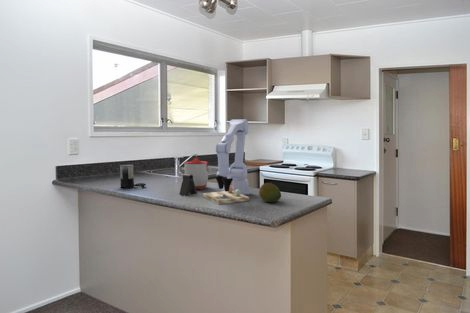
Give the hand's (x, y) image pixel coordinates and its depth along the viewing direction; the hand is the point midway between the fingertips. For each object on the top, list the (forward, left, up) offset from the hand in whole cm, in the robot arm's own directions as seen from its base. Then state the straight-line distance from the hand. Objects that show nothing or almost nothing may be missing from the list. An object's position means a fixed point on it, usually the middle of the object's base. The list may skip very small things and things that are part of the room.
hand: (224, 190), depth 200 cm
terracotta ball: (-8, -11, -2) cm, 14 cm away
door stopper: (+11, -28, -6) cm, 31 cm away
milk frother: (+36, -69, -6) cm, 78 cm away
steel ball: (0, 0, -4) cm, 4 cm away
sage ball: (-8, 0, -2) cm, 9 cm away
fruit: (-21, +14, -6) cm, 26 cm away
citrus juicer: (-1, -44, -6) cm, 44 cm away
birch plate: (-3, -5, -6) cm, 8 cm away
